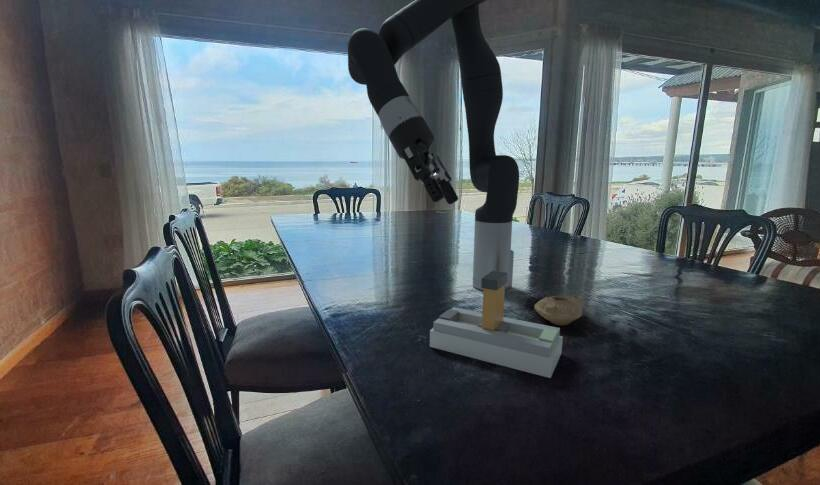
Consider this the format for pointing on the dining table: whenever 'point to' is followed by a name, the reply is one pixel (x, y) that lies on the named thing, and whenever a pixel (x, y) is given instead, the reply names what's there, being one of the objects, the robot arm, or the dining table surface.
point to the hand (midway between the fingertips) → (447, 201)
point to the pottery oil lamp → (560, 308)
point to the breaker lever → (493, 301)
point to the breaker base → (497, 352)
